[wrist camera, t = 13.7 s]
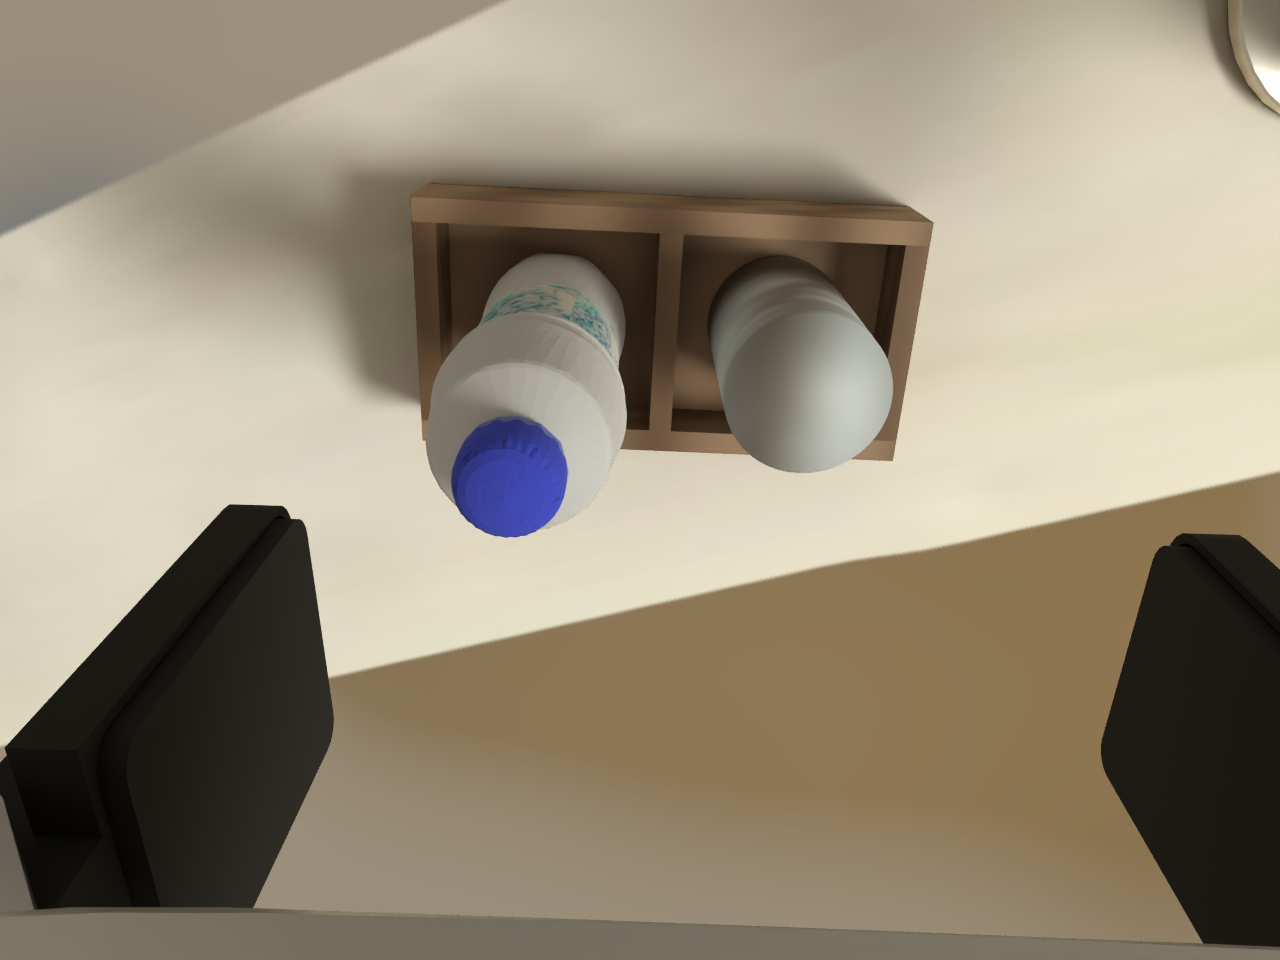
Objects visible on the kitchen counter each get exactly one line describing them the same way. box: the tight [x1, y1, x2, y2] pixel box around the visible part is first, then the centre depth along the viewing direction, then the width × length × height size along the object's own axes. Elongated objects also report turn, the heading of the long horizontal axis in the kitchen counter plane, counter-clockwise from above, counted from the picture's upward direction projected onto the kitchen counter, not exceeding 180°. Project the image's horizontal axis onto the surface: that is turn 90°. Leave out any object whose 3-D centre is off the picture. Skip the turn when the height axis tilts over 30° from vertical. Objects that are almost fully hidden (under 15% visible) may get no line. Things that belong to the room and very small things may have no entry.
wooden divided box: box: [410, 183, 933, 473], centre depth 42 cm, size 22×11×11 cm, turn 87°
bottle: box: [426, 253, 627, 538], centre depth 36 cm, size 7×7×20 cm
